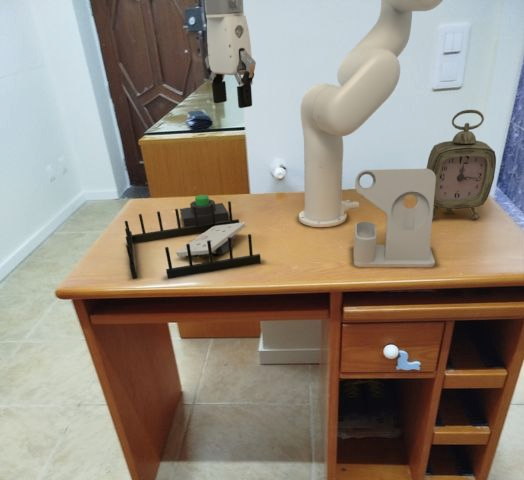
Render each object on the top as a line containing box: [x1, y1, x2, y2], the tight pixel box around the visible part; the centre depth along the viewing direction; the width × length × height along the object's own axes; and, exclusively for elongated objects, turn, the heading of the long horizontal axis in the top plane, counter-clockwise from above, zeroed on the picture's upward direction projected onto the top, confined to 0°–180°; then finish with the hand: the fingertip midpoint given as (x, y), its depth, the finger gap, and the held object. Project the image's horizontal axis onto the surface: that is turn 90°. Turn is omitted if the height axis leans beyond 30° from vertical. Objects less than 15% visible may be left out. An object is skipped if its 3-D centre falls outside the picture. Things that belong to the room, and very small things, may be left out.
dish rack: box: [124, 200, 262, 280], centre depth 113 cm, size 28×24×7 cm
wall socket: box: [175, 221, 247, 259], centre depth 115 cm, size 18×15×4 cm
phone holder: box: [352, 168, 436, 268], centre depth 102 cm, size 17×10×18 cm, turn 82°
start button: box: [194, 194, 210, 206], centre depth 128 cm, size 4×4×2 cm
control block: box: [179, 198, 230, 227], centre depth 130 cm, size 12×8×5 cm, turn 104°
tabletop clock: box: [425, 109, 497, 221], centre depth 117 cm, size 14×9×25 cm, turn 83°
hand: (232, 104), depth 104 cm, fingers open, 9 cm apart
